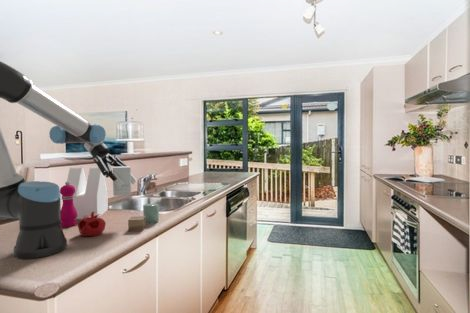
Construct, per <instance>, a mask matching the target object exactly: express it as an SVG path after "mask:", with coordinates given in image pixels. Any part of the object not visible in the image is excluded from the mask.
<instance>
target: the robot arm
mask: <svg viewBox="0 0 470 313" xmlns="http://www.w3.org/2000/svg"><path fill="white" fill-rule="evenodd" d="M0 99H3V100H5V101H7V102H8V103H11V104H18V105H20V106H22V107H24V108H25V109H27V110H29V111H31V112H33V113H34V114H36V115H37V116H39V117H41V118H43V119H44V120H47V121H48V122H50V123H52V124H54V126H52V127H51V128H50V130H49V139H50V140H51V141H52V142H53V143H54V144H58V145H59V144H60V145H64V144H81V145H82V146H83V147H84V148H85V149H86V151H87V152H88V153H89V154H90V155H91V156H92V158H93V162H94V163H96V165H97V167H99V169H100V170H101V172H102V174H103V175H104V176H105V178H110V180H112V182H113V181H114V182H115V184H116V185H117V186H118V187H121V186H122V184H123V182H122V180H121V179H120V178H119V177H118V176H117V175H116V174H115V172H113V168H112V167H120V166H128V165H127V164H125V163H124V162H123V161H122V160H121V159H120V158H119V157H118V156H117V155H116V154H114V155H111V153H110V148H109V147H108V146H107V145H106V144H105V143H104V140H105V138H106V137H107V136H106V135H107V134H106V133H107V132H106V130H105V127H103V125H100V124H95V123H94V124H92V123H90V122H89V121H87V120H85V119H84V118H83V117H81V116H80V115H79V114H76V112H74V111H73V110H71V109H69V108H68V107H66V106H65V105H64V104H62V103H60V102H59V101H58V100H56V99H55V98H53V97H52V96H50V95H48V94H47V93H45V92H44V91H42V90H41V89H39V88H38V87H37V86H35V85H33V82H32V79H31V78H29V77H28V76H26V75H24V74H23V73H22V72H21V71H18V70H17V69H16V68H14V67H12V66H10V65H8V64H6V63H5V62H3V61H0ZM137 181H138V180H137V179H136V177H135V176H134V175H133V174H132V173H131V185H134V184H135V183H136V182H137ZM60 189H61V188H60V186H59V185H58V184H57V183H54V182H51V181H36V180H35V181H26V180H25V177H24V175H22V174H20V173H17V171H16V168H15V165H14V162H13V160H12V156H11V154H10V151H9V149H8V145H7V143H6V141H5V138H4V135H3V132H2V129H1V128H0V219H16V220H18V222H19V223H18V224H19V232H18V236H17V237H16V238H17V239H16V241H15V244H14V247H13V257H14V258H16V259H22V260H23V259H24V260H25V259H26V260H29V259H38V258H43V257H44V258H45V257H49V256H51V255H55V254H58V253H61V252H63V251H64V250H65V249H67V248H68V241H67V240H68V239H67V238H66V237H65V236H66V235H65V233H64V230H63V227H61V222H62V221H61V209H62V205H61V196H62V195H61V194H60Z"/></svg>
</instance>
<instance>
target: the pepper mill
mask: <svg viewBox="0 0 470 313" xmlns="http://www.w3.org/2000/svg"><path fill="white" fill-rule="evenodd" d="M64 183H65V184H64V185H62V186H61V187H60V188H59V189H60V195H61V196H60V198H61V200H62V205H61V228H69V227H75V226H77V219H76V217H77V211H76V209H75V207H74V204H73V199H74V195H73V194H74V193H75V187H74V186H72V185H69V184H70V183H69V182H67V181H66V182H64Z"/></svg>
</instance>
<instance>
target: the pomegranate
mask: <svg viewBox="0 0 470 313" xmlns="http://www.w3.org/2000/svg"><path fill="white" fill-rule="evenodd" d="M98 215H100V214H98ZM98 215H95V216H94V212H92V214H91V215H90V216H87V217H86V218H85V216H84V218H83V219H79V222H78V224H77V228H78V231H79V234H80V235H81V236H83V237H96V236H100V235H101V234H102V233H103V232H105V229H106V224H107V223H106V221H105V220H104V219H103V218H101V216H99V217H97V216H98Z"/></svg>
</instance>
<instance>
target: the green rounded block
mask: <svg viewBox="0 0 470 313" xmlns="http://www.w3.org/2000/svg"><path fill="white" fill-rule="evenodd" d="M142 208H143V210H142V213H143V215H142V216H146V223H153V224H156V223H155V222H157V223H159V222H160V219H159V217H160V212H159V204H158V203H145V204H143V206H142ZM158 221H159V222H158Z"/></svg>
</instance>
